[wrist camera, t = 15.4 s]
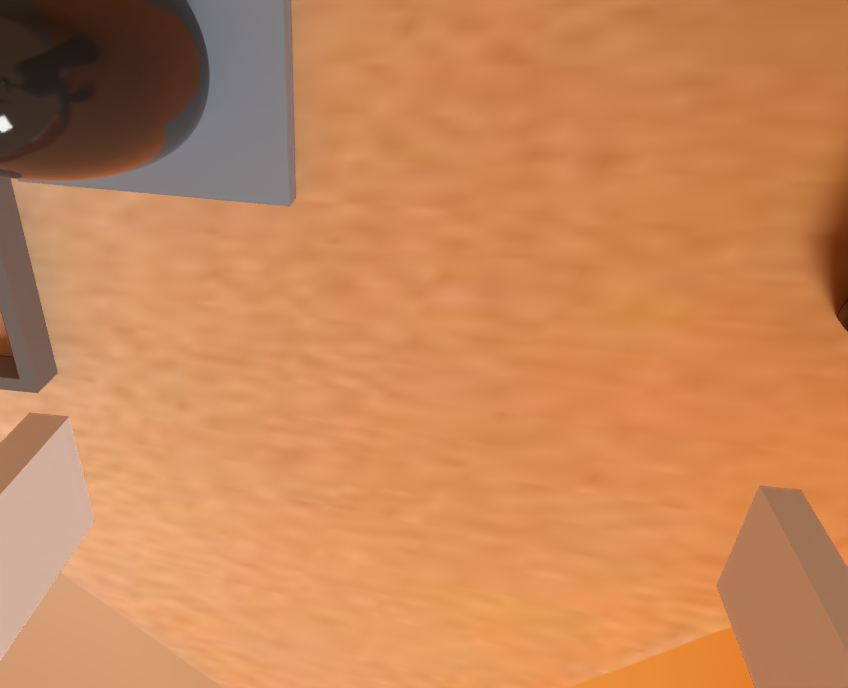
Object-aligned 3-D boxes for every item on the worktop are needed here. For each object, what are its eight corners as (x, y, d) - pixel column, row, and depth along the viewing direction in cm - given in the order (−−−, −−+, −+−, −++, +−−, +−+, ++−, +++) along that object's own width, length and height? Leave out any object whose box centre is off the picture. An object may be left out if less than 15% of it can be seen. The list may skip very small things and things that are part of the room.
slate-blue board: (-41, -154, 32) (-63, -159, 31) (287, -128, 32) (279, -131, 31) (32, 174, 40) (18, 181, 39) (295, 198, 40) (289, 206, 39)
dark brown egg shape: (93, -123, 31) (-183, -179, 18) (272, 42, 34) (146, 95, 21) (2, 50, 36) (-275, 107, 22) (169, 183, 39) (11, 301, 25)
